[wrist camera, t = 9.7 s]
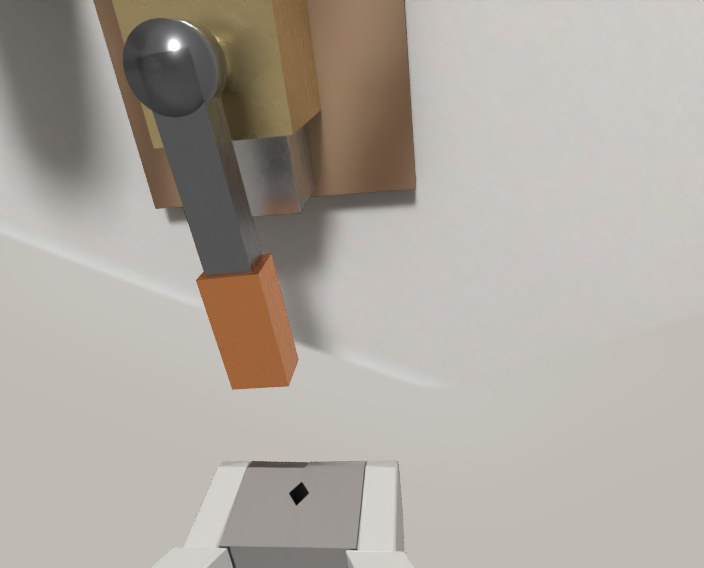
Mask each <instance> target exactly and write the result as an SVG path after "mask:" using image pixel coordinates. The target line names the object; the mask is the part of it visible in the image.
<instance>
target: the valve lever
mask: <svg viewBox="0 0 704 568" xmlns="http://www.w3.org/2000/svg"><path fill="white" fill-rule="evenodd" d="M123 68H124V73H125V76H126V79H127V82H128V84H129V86H130V88H131V90H132V91H133V93H134V94H135V96H136V97H137V98H138V99H139V100H140V101H141V102H142V103H143V104H144V105H145V106H146V107H147V108H149V109H150V110H152V112H153V115H154V118H155V122H156V125H157V128H158V131H159V134H160V137H161V140H162V143H163V146H164V149H165V153H166V156H167V159H168V162H169V165H170V168H171V171H172V174H173V177H174V180H175V184H176V187H177V190H178V193H179V196H180V199H181V202H182V205H183V208H184V211H185V214H186V218H187V221H188V224H189V227H190V230H191V233H192V236H193V239H194V242H195V245H196V249H197V252H198V255H199V258H200V261H201V264H202V267H203V270H204V272H203V273H202V274H201V275H200V276H199V278H198V279H197V280H196V282H197V285H198V288H199V291H200V294H201V297H202V300H203V303H204V306H205V309H206V312H207V315H208V317H209V321H210V324H211V327H212V330H213V333H214V336H215V339H216V341H217V345H218V348H219V350H220V353H221V356H222V360H223V363H224V366H225V369H226V372H227V375H228V378H229V381H230V384H231V387H232V389H248V388H266V387H283V386H289V384H290V381H291V379H292V376H293V373H294V370H295V368H296V365H297V362H298V356H297V353H296V348H295V344H294V340H293V337H292V333H291V329H290V325H289V321H288V317H287V313H286V309H285V305H284V301H283V297H282V293H281V289H280V286H279V282H278V278H277V274H276V270H275V266H274V262H273V258H272V254H264V255H262V252H261V249H260V245H259V241H258V237H257V233H256V230H255V226H254V222H253V218H252V214H251V211H250V207H249V203H248V199H247V195H246V192H245V188H244V184H243V180H242V176H241V173H240V169H239V165H238V161H237V158H236V154H235V150H234V146H233V142H232V139H231V135H230V131H229V127H228V123H227V120H226V116H225V112H224V108H223V104H222V101H221V97H220V95H221V94H222V92H223V90H224V87H225V84H226V79H227V64H226V59H225V56H224V52H223V50H222V48H221V46H220V44H219V42H218V41H217V39H216V38H215V37H214V36H213V34H212V33H211V32H210V31H209V30H207V29H206V28H205V27H204V26H202V25H201V24H199V23H197V22H195V21H192V20H189V19H184V18H155V19H150V20H146V21H144V22H142V23H140V24H139V25H138V26H136V27H135V28H134V29H133V30H132V32H131V33H130V34H129V36H128V38H127V40H126V43H125V45H124V50H123Z"/></svg>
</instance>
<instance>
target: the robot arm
mask: <svg viewBox="0 0 704 568" xmlns="http://www.w3.org/2000/svg"><path fill="white" fill-rule="evenodd" d="M150 568H416V567H415V565H414V564H413V562H412V561H411V559H410V558H409V556H408V555H407V553H406V552H404V531H403V510H402V498H401V486H400V473H399V464H398V461H333V462H309V463H308V462H264V461H252V462H241V461H223V463H222V464H221V465H220V466H219V467H218V468H217V469H216V472H215V474H214V476H213V479H212V481H211V483H210V486H209V488H208V490H207V493H206V495H205V497H204V500H203V502H202V504H201V507H200V509H199V511H198V514H197V516H196V518H195V520H194V523H193V525H192V527H191V530H190V532H189V534H188V537H187V539H186V541H185V543H184V546H183V547H173V548H172V549H171V550H170V551H169V552H168V553H166V554H165V555H164V556H163V557H162V558H161V559H160V560H158V561H157V562H156V563H155V564H154V565H153V566H151V567H150Z"/></svg>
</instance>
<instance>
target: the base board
mask: <svg viewBox="0 0 704 568" xmlns="http://www.w3.org/2000/svg"><path fill="white" fill-rule="evenodd" d="M93 1H94V4H95V7H96V11H97V14H98V17H99V21H100V24H101V27H102V31H103V34H104V37H105V41H106V44H107V48H108V51H109V54H110V58H111V61H112V64H113V68H114V71H115V74H116V78H117V81H118V84H119V88H120V91H121V94H122V98H123V101H124V104H125V108H126V111H127V115H128V118H129V121H130V125H131V128H132V131H133V135H134V138H135V141H136V145H137V148H138V151H139V155H140V158H141V161H142V165H143V168H144V171H145V175H146V178H147V182H148V185H149V188H150V192H151V195H152V198H153V202H154V205H155V208H156V209H159V208H172V207H183V205H182V202H181V199H180V196H179V193H178V190H177V187H176V184H175V180H174V177H173V174H172V171H171V168H170V165H169V162H168V159H167V156H166V153H165V149H164V148H154V147H153V144H152V140H151V136H150V133H149V129H148V126H147V122H146V119H145V115H144V112H143V108H142V105H141V101H140V100H139V99H138V98H137V97H136V96H135V94H134V93H133V91H132V90H131V88H130V86H129V84H128V82H127V79H126V76H125V73H124V68H123V50H124V42H123V38H122V35H121V31H120V28H119V24H118V21H117V17H116V13H115V10H114V6H113V3H112V0H93ZM306 2H307V9H308V16H309V24H310V31H311V38H312V46H313V53H314V60H315V68H316V75H317V82H318V90H319V97H320V104H321V110H320V111H319V112H318V113H317V114H316V115H315V116H314V117H313V118H311V119H310V120H309V121H308V122H307V129H308V136H309V142H310V149H311V156H312V162H313V169H314V176H315V182H316V188H315V189H314V191H313V193H312V194H311V196H310V197H315V196H328V195H341V194H354V193H367V192H380V191H393V190H406V189H416V177H415V161H414V145H413V128H412V112H411V96H410V79H409V63H408V47H407V31H406V14H405V0H306Z"/></svg>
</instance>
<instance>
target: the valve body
mask: <svg viewBox="0 0 704 568" xmlns="http://www.w3.org/2000/svg"><path fill="white" fill-rule="evenodd" d="M112 3H113V6H114V10H115V13H116V17H117V21H118V24H119V28H120V31H121V35H122V38H123V42H124V45H125V43H126V40H127V38H128V36H129V34H130V33H131V32H132V30H133V29H134V28H135V27H136V26H138V25H139V24H140V23H142V22H144V21H146V20H150V19H155V18H184V19H189V20H192V21H195V22H197V23H199V24H201V25H202V26H204V27H205V28H206V29H207V30H209V31H210V32H211V33H212V34H213V36H214V37H215V38H216V39H217V41H218V42H219V44H220V46H221V48H222V50H223V52H224V56H225V59H226V64H227V79H226V84H225V87H224V90H223V92H222V94H221V95H220V97H221V101H222V104H223V108H224V112H225V116H226V120H227V123H228V127H229V131H230V135H231V139H232V142H233V146H234V150H235V154H236V158H237V161H238V165H239V169H240V173H241V176H242V180H243V184H244V188H245V192H246V195H247V199H248V203H249V207H250V211H251V214H252V216H265V215H279V214H293V213H300V212H301V210H302V208H303V207H304V205H305V204H306V202H307V200H308V199H309V197H310V196H311V194H312V193H313V191H314V189H315V188H316V182H315V176H314V169H313V162H312V156H311V149H310V142H309V136H308V129H307V122H308V121H309V120H310V119H311V118H313V117H314V116H315V115H316V114H317V113H318V112H319V111H320V110H321V104H320V97H319V90H318V82H317V75H316V68H315V60H314V53H313V46H312V38H311V31H310V24H309V16H308V9H307V2H306V0H112ZM141 105H142V108H143V112H144V115H145V119H146V122H147V126H148V129H149V133H150V136H151V140H152V144H153V147H154V148H164V146H163V143H162V140H161V137H160V134H159V131H158V128H157V125H156V122H155V118H154V115H153V112H152V110H150V109H149V108H147V107H146V106H145V105H144V104H143V103H142V102H141Z"/></svg>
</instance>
